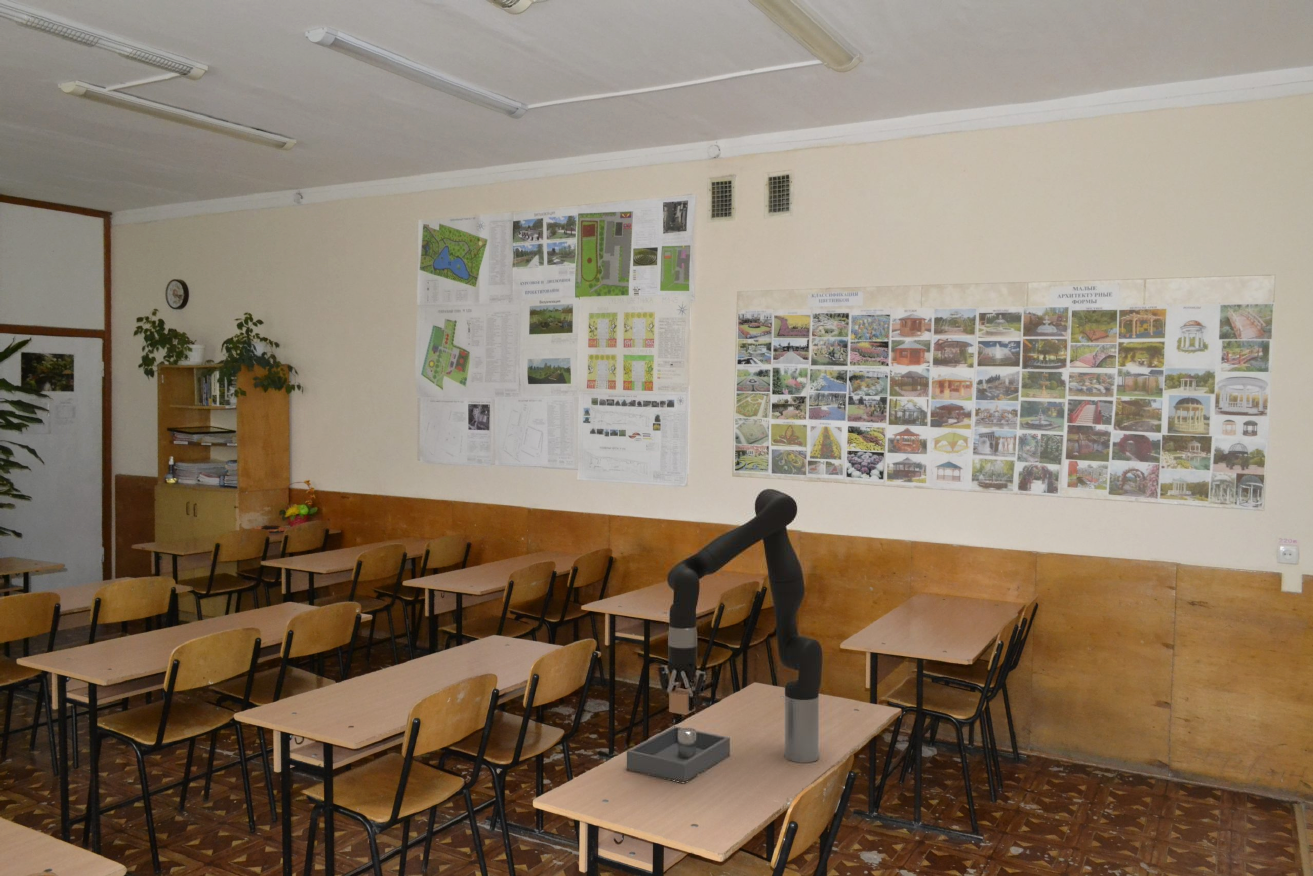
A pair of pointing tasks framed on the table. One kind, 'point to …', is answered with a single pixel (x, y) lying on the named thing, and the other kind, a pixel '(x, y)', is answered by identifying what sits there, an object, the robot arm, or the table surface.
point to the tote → (663, 755)
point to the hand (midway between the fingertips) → (682, 708)
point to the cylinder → (686, 743)
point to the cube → (679, 701)
